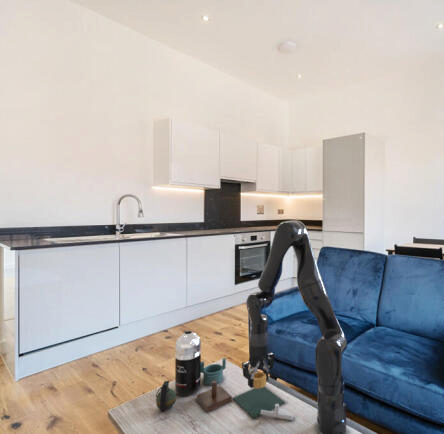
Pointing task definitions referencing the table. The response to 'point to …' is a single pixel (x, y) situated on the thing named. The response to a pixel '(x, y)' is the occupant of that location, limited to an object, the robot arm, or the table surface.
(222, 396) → the tape holder
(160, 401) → the hand grenade
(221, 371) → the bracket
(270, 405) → the desk mat
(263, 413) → the pipe joint
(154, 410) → the table surface
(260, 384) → the tape roll
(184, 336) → the black ribbed cylinder
